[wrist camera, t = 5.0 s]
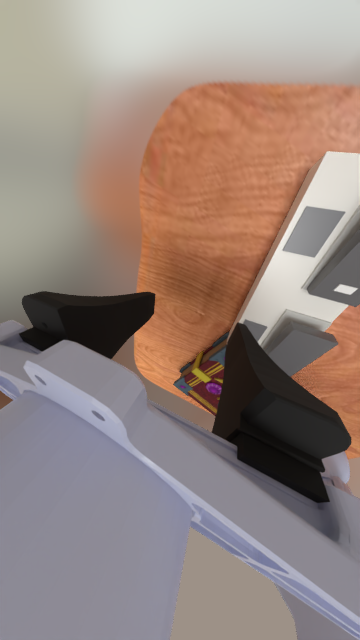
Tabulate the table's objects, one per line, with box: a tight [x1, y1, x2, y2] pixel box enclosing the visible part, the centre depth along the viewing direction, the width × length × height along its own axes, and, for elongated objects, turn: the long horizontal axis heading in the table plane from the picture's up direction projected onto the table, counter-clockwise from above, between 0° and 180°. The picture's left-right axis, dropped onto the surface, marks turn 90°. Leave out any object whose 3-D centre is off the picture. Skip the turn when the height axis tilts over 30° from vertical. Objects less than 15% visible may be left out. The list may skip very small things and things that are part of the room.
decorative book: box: [173, 332, 229, 416], centre depth 25 cm, size 11×16×5 cm
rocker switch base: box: [227, 151, 360, 351], centre depth 15 cm, size 8×20×3 cm, turn 169°
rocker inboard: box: [265, 322, 338, 376], centre depth 15 cm, size 4×8×1 cm, turn 169°
